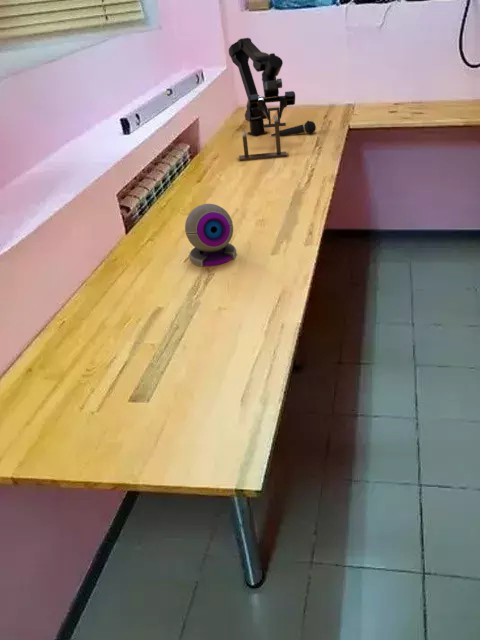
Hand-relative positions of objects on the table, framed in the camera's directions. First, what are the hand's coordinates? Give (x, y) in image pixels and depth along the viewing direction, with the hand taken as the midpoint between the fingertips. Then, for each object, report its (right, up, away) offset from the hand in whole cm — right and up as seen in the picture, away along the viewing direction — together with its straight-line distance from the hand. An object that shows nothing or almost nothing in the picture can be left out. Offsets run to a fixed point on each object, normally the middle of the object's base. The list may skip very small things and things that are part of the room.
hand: (274, 118), depth 248 cm
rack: (-5, -15, +2) cm, 15 cm away
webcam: (-15, -67, -76) cm, 102 cm away
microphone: (+8, +3, +26) cm, 27 cm away
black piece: (0, -2, +3) cm, 4 cm away
